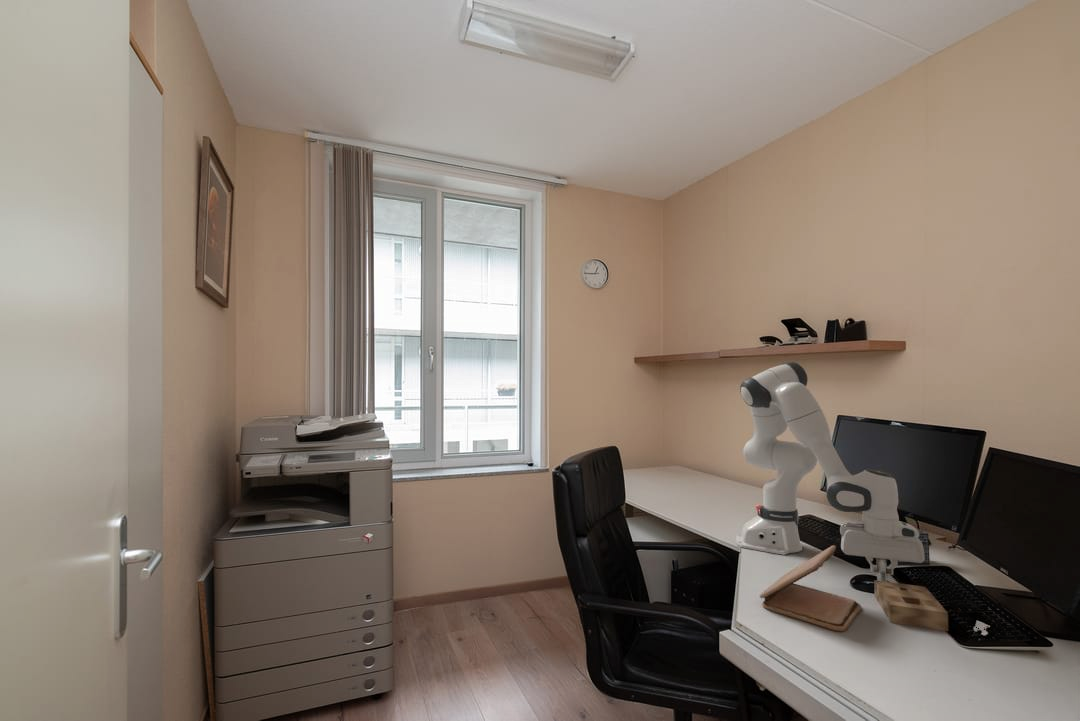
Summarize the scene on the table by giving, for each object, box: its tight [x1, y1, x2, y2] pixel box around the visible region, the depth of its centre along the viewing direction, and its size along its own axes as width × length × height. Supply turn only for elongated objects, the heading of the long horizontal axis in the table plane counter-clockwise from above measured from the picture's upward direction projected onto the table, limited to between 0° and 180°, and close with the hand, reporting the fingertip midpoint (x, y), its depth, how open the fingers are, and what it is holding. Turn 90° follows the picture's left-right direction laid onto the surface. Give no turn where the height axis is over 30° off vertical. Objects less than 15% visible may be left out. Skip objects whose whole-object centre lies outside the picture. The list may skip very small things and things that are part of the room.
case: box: [759, 545, 862, 632], centre depth 135 cm, size 20×21×16 cm
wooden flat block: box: [873, 579, 949, 632], centre depth 131 cm, size 12×16×4 cm
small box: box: [897, 527, 931, 566], centre depth 166 cm, size 11×6×10 cm, turn 84°
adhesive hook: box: [973, 620, 991, 636], centre depth 120 cm, size 3×3×3 cm
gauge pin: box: [876, 558, 888, 582], centre depth 144 cm, size 2×2×11 cm
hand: (881, 572), depth 144 cm, fingers closed on gauge pin, 2 cm apart
